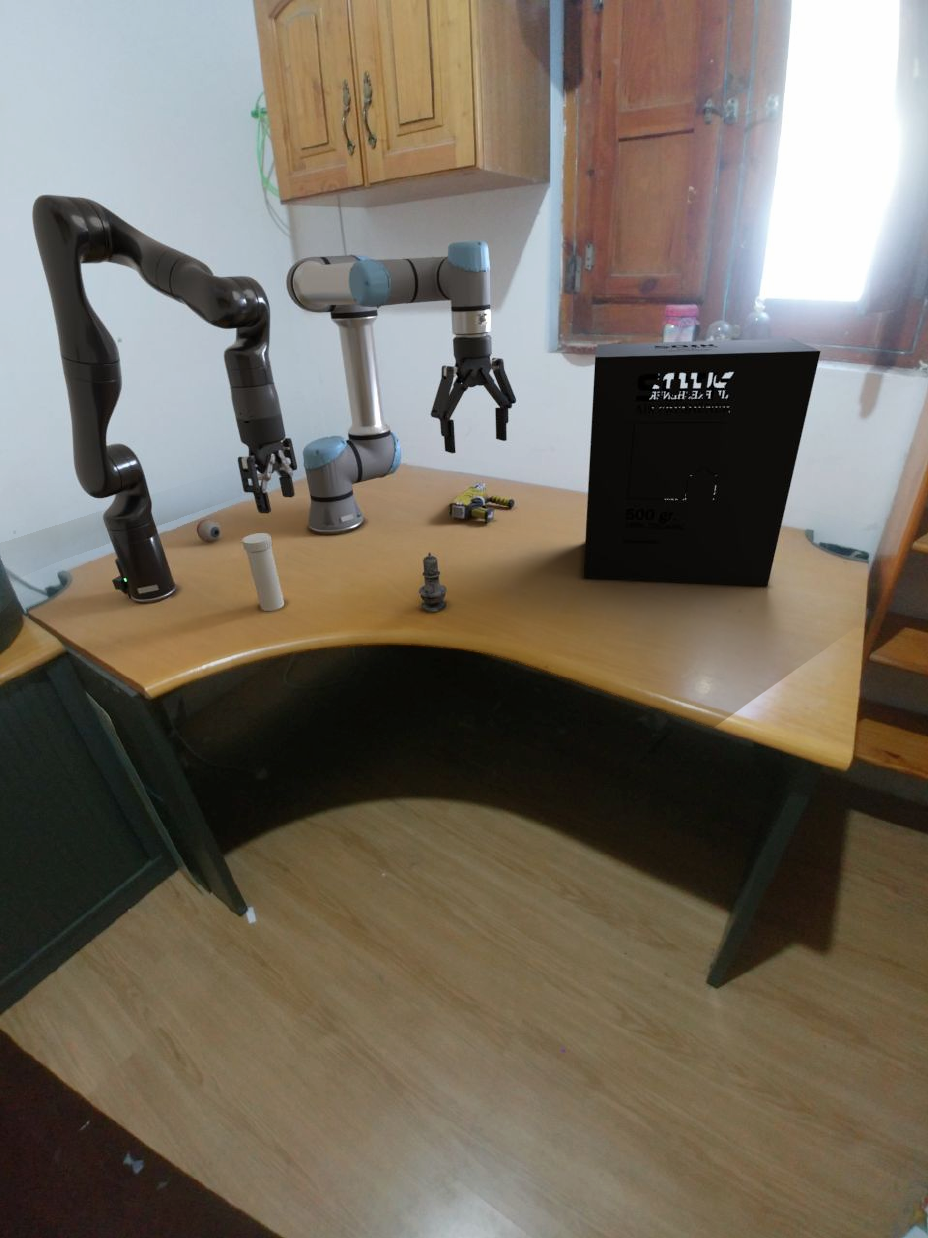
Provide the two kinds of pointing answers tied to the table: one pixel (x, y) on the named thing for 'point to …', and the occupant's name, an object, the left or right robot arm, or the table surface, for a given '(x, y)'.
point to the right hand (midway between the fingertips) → (476, 445)
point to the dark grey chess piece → (432, 586)
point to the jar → (266, 579)
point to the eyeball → (208, 530)
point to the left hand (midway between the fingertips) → (277, 504)
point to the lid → (257, 542)
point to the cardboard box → (693, 458)
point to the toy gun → (476, 504)
